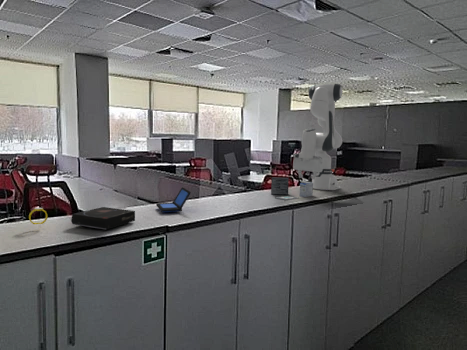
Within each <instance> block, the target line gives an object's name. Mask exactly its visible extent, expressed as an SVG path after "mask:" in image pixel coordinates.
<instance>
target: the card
mask: <svg viewBox="0 0 467 350" xmlns="http://www.w3.org/2000/svg"><path fill="white" fill-rule="evenodd" d="M274 199H277V200H282V201H288V200H289V201H290V200H296V199H299V197H298V196H292V195H282V196H277V197H276V196H275V198H274Z"/></svg>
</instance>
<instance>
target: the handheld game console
mask: <svg viewBox="0 0 467 350" xmlns="http://www.w3.org/2000/svg"><path fill="white" fill-rule="evenodd" d="M190 196H191V191H190V190H188V189H186V188H185V187H181V188H180V189H179V192H178V193H177V195H176V196H175V198H174V199H173V200H172V201H171V202H159V203H156V208H158V209H159V210H160V211H161V212H162V213H169V212H170V213H171V212H172V213H173V212H182V211H183V207H184V205H185V203H186V202H187V201H188V199H189V197H190Z"/></svg>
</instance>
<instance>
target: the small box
mask: <svg viewBox="0 0 467 350" xmlns="http://www.w3.org/2000/svg"><path fill="white" fill-rule="evenodd" d="M289 181H290V179H289V177H275V176H274V177H272V176H271V185H270V187H271V190H270V195H272V196H289V184H290V183H289Z"/></svg>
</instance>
